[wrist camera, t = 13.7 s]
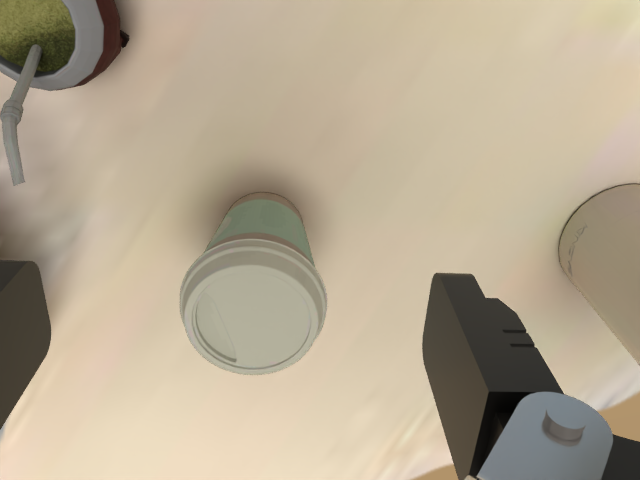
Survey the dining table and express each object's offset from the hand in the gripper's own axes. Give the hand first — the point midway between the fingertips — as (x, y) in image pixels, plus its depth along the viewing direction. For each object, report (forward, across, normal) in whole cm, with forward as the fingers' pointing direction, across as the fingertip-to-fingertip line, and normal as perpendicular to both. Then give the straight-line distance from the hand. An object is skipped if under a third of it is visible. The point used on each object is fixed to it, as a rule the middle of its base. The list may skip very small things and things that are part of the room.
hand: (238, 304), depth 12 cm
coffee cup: (+28, +1, +12) cm, 31 cm away
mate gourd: (+28, +12, -2) cm, 31 cm away
